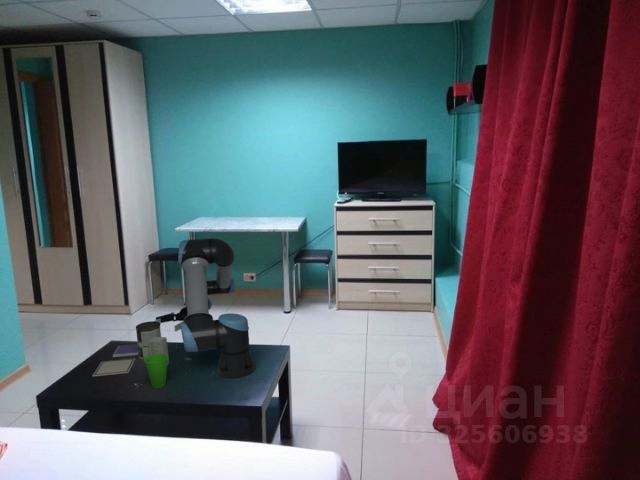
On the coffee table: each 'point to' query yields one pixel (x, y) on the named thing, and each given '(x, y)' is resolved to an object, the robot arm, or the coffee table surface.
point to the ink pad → (126, 350)
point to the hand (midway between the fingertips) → (162, 327)
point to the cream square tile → (114, 367)
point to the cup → (157, 369)
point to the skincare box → (158, 346)
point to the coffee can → (146, 336)
